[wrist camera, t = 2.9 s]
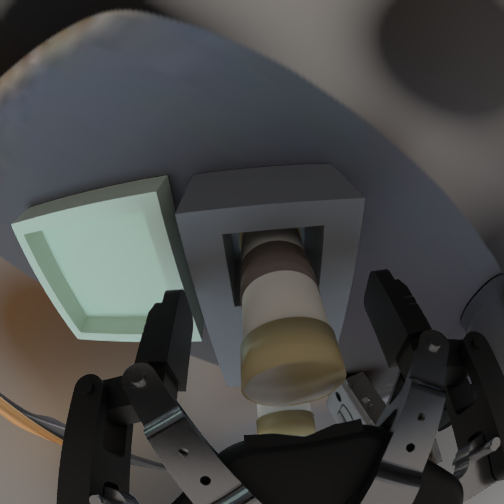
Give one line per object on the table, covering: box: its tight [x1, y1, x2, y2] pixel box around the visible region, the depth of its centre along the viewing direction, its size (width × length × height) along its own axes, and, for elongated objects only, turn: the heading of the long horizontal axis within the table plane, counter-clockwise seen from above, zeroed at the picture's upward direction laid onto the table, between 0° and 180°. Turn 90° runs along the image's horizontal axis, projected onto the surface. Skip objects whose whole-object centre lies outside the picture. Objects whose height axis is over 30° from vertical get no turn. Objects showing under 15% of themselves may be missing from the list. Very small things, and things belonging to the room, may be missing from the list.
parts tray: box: [11, 175, 204, 342], centre depth 17 cm, size 12×12×2 cm
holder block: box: [175, 163, 365, 387], centre depth 17 cm, size 8×15×5 cm, turn 5°
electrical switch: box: [327, 371, 386, 426], centre depth 28 cm, size 9×5×9 cm, turn 5°
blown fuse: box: [239, 227, 346, 407], centre depth 12 cm, size 3×3×10 cm
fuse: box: [256, 402, 316, 436], centre depth 17 cm, size 3×3×10 cm
